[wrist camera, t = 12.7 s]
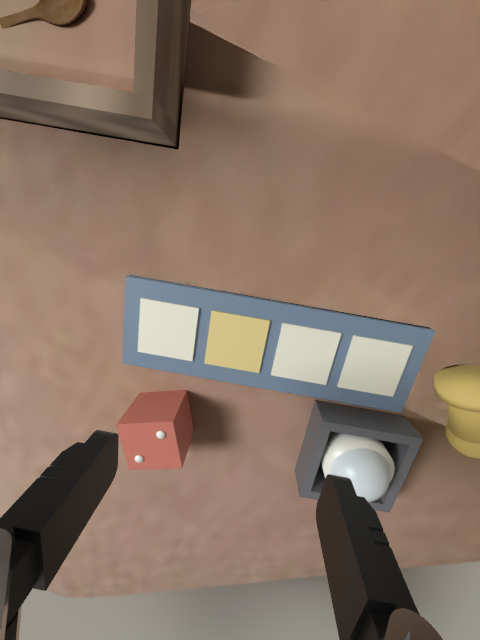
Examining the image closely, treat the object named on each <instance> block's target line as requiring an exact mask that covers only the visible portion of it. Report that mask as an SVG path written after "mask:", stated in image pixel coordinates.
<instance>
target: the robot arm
mask: <svg viewBox="0 0 480 640" xmlns="http://www.w3.org/2000/svg"><path fill="white" fill-rule="evenodd" d="M117 466H118V434H116V433H111V432H106V431H100V430H97V431H95V432H94V433H93V434H92V435H91V436H90V438H89V439H88V440H87V441H86V442H85V443H79V442H77V443H75V444H74V445H72V446H71V447H69V448H68V449H66V450H64V451H63V452H62V453H61V454H60V455H59V456H58V457H57V458H56V459H55V460H54V461H53V462H52V463H51V464H50V467H48V468H47V469H46V470H45V471H44V472H43V473H42V474H41V475H40V478H37V479H36V480H35V482H34V483H33V484H32V485H31V486H30V487H29V488H28V489H27V490H26V491H25V492H24V493H23V494H22V496H21V497H20V498H19V499H18V500H17V501H16V502H15V503H14V504H13V505H12V506H11V507H10V508H9V509H8V511H7V512H6V513H5V514H4V515H3V516H2V517H1V518H0V640H19V630H20V617H21V605H22V603H23V602H24V600H25V599H26V597H27V596H28V594H29V593H30V591H31V590H32V588H34V589H40V590H45V591H46V590H47V588H48V586H49V585H50V583H51V581H52V580H53V578H54V577H55V575H56V573H57V572H58V570H59V568H60V567H61V565H62V563H63V562H64V560H65V559H66V557H67V555H68V554H69V552H70V550H71V549H72V547H73V545H74V544H75V542H76V541H77V539H78V537H79V536H80V534H81V532H82V531H83V529H84V527H85V526H86V524H87V522H88V521H89V519H90V518H91V516H92V514H93V513H94V511H95V509H96V508H97V506H98V504H99V503H100V501H101V500H102V498H103V496H104V495H105V493H106V491H107V490H108V488H109V486H110V485H111V483H112V481H113V479H114V477H115V474H116V471H117ZM316 521H317V527H318V532H319V537H320V542H321V547H322V553H323V558H324V563H325V568H326V573H327V577H328V583H329V588H330V593H331V598H332V603H333V608H334V614H335V619H336V624H337V629H338V634H339V639H340V640H443V639H442V638H441V636H440V635H439V634H438V632H437V631H436V630H435V629H434V628H433V627H432V625H431V624H430V623H429V622H427V621H426V620H425V619H424V618H423V617H421V616H420V614H419V612H418V611H417V608H416V606H415V604H414V601H413V599H412V597H411V595H410V592H409V590H408V587H407V585H406V582H405V580H404V578H403V575H402V573H401V571H400V568H399V566H398V563H397V561H396V559H395V556H394V554H393V552H392V549H391V548H390V547H389V542H388V540H387V537H386V535H385V533H383V528H382V525H381V523H380V521H379V518H378V516H377V513H376V512H375V510H374V509H373V508H372V507H371V505H370V504H369V503H368V501H367V500H366V499H365V497H360V496H357V495H356V492H355V489H354V487H353V484H352V481H351V480H350V479H349V478H347V477H341V476H336V475H331V474H328V475H327V476H326V478H325V482H324V485H323V488H322V491H321V494H320V497H319V500H318V503H317V508H316Z"/></svg>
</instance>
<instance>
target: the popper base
mask: <svg viewBox="0 0 480 640" xmlns="http://www.w3.org/2000/svg"><path fill="white" fill-rule="evenodd" d="M330 431H332V432H337V433H343V434H349V435H354V436H360V437H366V438H371V439H377V440H382V441H385V442H384V446H385V448H386V450H387V451H388V453H389V455H390V456H391V458H392V460H393V462H394V467H395V471H394V475H393V478H392V480H391V482H390V483H389V486H388V488H387V490H386V492H385V493H384V494H383V495H382V496H381V497H380V498H379V499H377V500H375V501H372V502H368V503H369V504H370V505H371V507H372V508H373V509H374V510H378V511H384V512H389V513H390V511H391V508H392V506H393V504H394V502H395V500H396V498H397V495H398V493H399V491H400V489H401V487H402V485H403V483H404V480H405V478H406V476H407V474H408V472H409V470H410V467H411V465H412V463H413V461H414V459H415V457H416V454H417V452H418V450H419V448H420V446H421V444H422V441H423V438H422V436H421V435H420V434H419V433H418V432H417V430H416V429H415V428H414V427H413V426H412V424H411V423H410V422H409V421H408V420H407V418H406V417H405V416H401V415H395V414H389V413H384V412H378V411H373V410H367V409H361V408H356V407H350V406H344V405H339V404H333V403H327V402H322V401H316V400H315V404H314V407H313V410H312V414H311V417H310V421H309V424H308V427H307V431H306V434H305V438H304V441H303V444H302V448H301V451H300V455H299V458H298V461H297V465H296V468H295V473H296V479H297V485H298V491H299V496H300V497H305V498H311V499H316V500H319V497H320V494H321V491H322V488H323V485H324V482H325V476H324V472H323V469H322V468H319V464H320V461H321V458H322V455H323V452H324V449H325V446H326V443H327V440H328V437H329V434H330Z"/></svg>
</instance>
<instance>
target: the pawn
mask: <svg viewBox="0 0 480 640" xmlns="http://www.w3.org/2000/svg"><path fill="white" fill-rule="evenodd" d="M434 389H435V392H436V394H437V396H438V397H439V398H440V399H441V400H442V401H444V402H445V403H446V404H447V418H448V422H447V424H446V429H445V431H446V436H447V439H448V441H449V442H450V444H451V445H452V446H453V447H454V448H455V449H456V450H457V451H459V452H460V453H462V454H464V455H466V456H468V457H472V458H478V459H480V366H477V365H467V364H461V365H453V366H448V367H445V368H443V369H441V370H439V371H438V372H437V373H436V374H435V376H434Z"/></svg>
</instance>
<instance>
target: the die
mask: <svg viewBox="0 0 480 640" xmlns="http://www.w3.org/2000/svg"><path fill="white" fill-rule="evenodd" d="M117 427H118V431H119V435H120V438H121V442H122V446H123V449H124V453H125V457H126V460H127V464H128V467H129V470H136V469H168V468H182V467H183V464H184V460H185V457H186V454H187V451H188V448H189V445H190V442H191V439H192V435H193V432H194V428H193V422H192V416H191V411H190V405H189V399H188V394H187V390H181V391H163V392H145V393H139V395H138V396H137V397H136V399H135V400H134V401H133V403H132V404H131V405H130V407H129V408H128V410H127V411H126V412H125V414H124V415H123V416H122V418H121V419H120V420H119V422H118V423H117Z"/></svg>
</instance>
